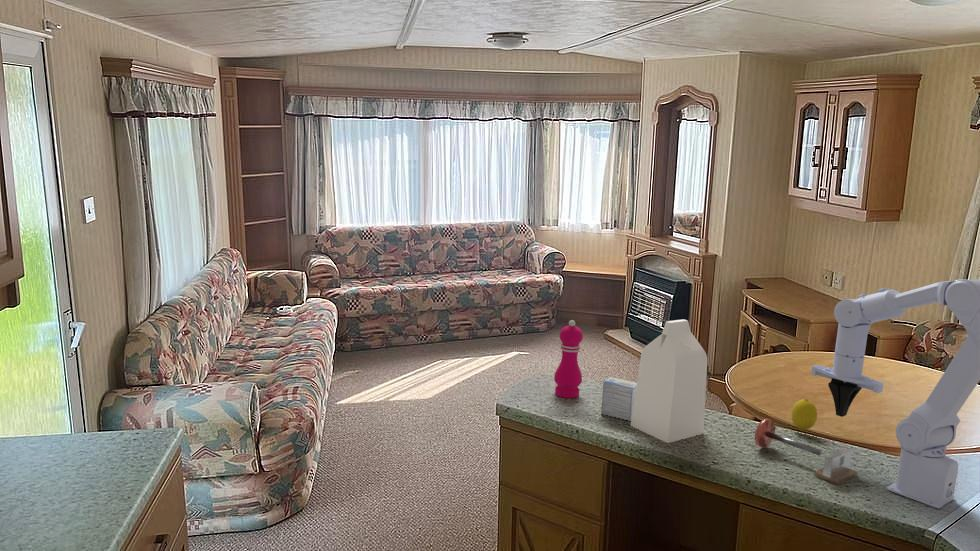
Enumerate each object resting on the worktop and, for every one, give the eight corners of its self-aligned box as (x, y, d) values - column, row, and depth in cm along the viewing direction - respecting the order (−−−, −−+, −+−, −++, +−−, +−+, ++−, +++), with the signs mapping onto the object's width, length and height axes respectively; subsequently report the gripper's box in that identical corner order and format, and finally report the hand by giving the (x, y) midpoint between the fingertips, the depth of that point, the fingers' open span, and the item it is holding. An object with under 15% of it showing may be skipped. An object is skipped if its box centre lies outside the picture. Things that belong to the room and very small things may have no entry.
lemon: (817, 436, 170) (821, 403, 168) (792, 433, 171) (796, 401, 169) (811, 428, 175) (815, 396, 174) (787, 425, 176) (791, 393, 175)
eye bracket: (857, 475, 149) (860, 452, 149) (838, 485, 144) (841, 461, 144) (833, 466, 153) (836, 444, 152) (813, 475, 148) (816, 452, 147)
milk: (665, 417, 177) (675, 313, 173) (703, 433, 168) (714, 324, 164) (630, 425, 171) (639, 317, 166) (667, 443, 161) (678, 329, 157)
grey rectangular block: (637, 417, 177) (640, 383, 175) (630, 422, 173) (633, 387, 171) (607, 409, 181) (610, 376, 179) (600, 414, 177) (602, 380, 175)
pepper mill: (552, 397, 188) (557, 322, 184) (554, 388, 195) (559, 316, 191) (580, 400, 186) (585, 324, 183) (581, 391, 193) (586, 318, 190)
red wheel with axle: (825, 463, 154) (829, 435, 153) (810, 470, 150) (814, 441, 149) (764, 441, 164) (767, 414, 163) (748, 447, 161) (751, 419, 159)
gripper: (893, 360, 152) (884, 422, 154) (825, 343, 163) (817, 401, 165) (878, 365, 147) (868, 428, 150) (809, 347, 159) (801, 407, 161)
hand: (841, 415), depth 157 cm, fingers closed
